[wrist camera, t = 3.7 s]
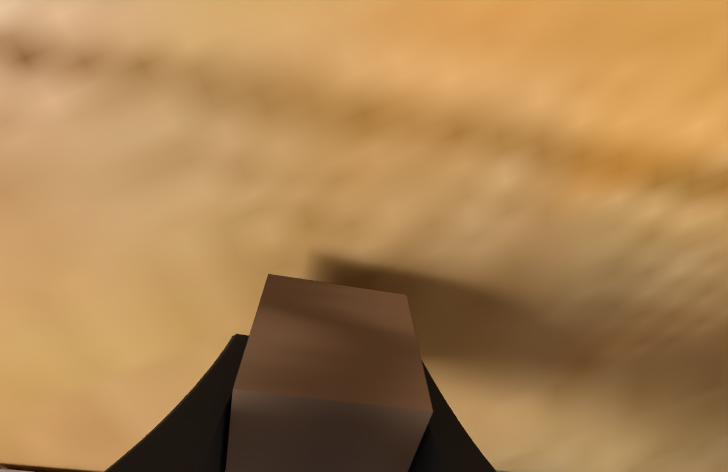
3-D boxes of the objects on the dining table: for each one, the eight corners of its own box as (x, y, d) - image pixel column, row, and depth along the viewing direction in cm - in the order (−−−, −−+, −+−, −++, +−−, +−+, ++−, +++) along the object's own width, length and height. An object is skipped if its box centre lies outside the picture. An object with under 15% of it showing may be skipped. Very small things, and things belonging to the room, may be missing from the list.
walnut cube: (256, 376, 15) (222, 508, 11) (268, 273, 13) (232, 389, 9) (376, 390, 15) (387, 519, 11) (406, 295, 13) (432, 411, 9)
